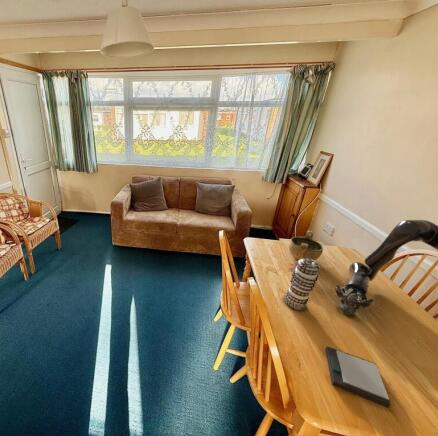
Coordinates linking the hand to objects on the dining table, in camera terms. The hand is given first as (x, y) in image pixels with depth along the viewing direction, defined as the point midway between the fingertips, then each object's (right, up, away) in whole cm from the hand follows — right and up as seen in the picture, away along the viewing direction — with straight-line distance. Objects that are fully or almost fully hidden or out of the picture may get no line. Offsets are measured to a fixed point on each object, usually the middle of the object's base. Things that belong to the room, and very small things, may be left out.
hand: (349, 305), depth 98 cm
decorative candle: (-18, -4, +9) cm, 21 cm away
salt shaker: (+2, -6, +5) cm, 8 cm away
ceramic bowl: (+9, +13, +44) cm, 46 cm away
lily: (-4, +5, +28) cm, 29 cm away
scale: (-17, -17, -20) cm, 31 cm away
